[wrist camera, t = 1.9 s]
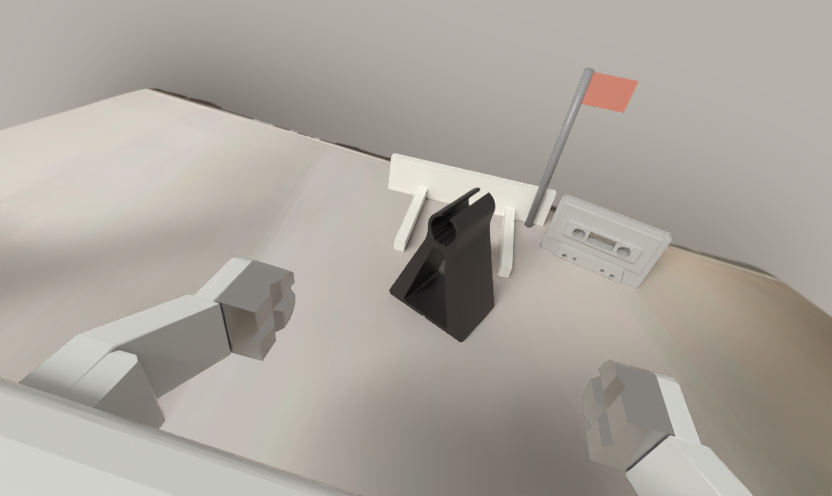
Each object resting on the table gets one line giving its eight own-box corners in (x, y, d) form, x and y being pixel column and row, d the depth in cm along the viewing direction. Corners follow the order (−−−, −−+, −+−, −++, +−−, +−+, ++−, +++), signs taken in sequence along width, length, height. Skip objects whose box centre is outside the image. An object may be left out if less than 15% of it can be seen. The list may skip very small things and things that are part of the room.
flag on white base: (564, 226, 53) (635, 74, 41) (573, 294, 43) (673, 118, 30) (390, 185, 56) (407, 29, 43) (358, 240, 45) (368, 54, 32)
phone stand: (388, 292, 39) (401, 191, 32) (424, 265, 43) (443, 169, 36) (461, 343, 36) (496, 243, 28) (493, 308, 40) (530, 212, 32)
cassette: (538, 249, 49) (560, 197, 44) (542, 242, 50) (564, 190, 45) (636, 292, 45) (673, 240, 40) (638, 283, 46) (674, 232, 41)
